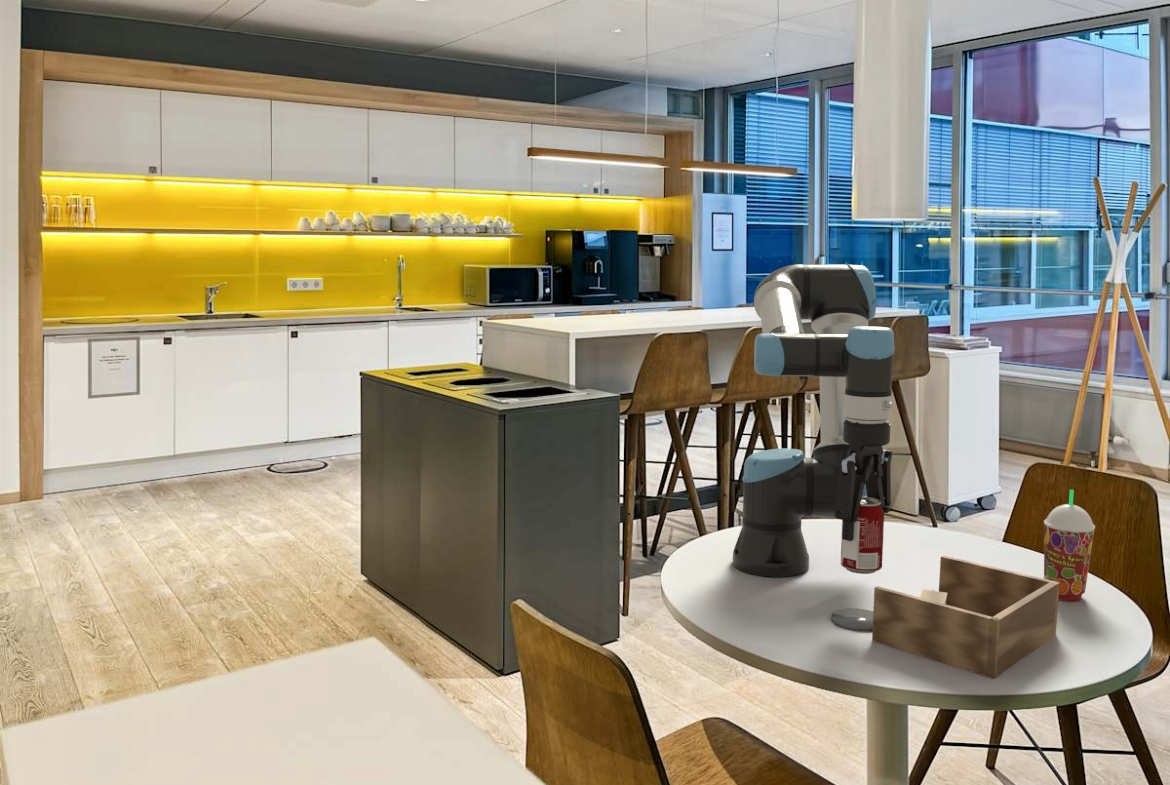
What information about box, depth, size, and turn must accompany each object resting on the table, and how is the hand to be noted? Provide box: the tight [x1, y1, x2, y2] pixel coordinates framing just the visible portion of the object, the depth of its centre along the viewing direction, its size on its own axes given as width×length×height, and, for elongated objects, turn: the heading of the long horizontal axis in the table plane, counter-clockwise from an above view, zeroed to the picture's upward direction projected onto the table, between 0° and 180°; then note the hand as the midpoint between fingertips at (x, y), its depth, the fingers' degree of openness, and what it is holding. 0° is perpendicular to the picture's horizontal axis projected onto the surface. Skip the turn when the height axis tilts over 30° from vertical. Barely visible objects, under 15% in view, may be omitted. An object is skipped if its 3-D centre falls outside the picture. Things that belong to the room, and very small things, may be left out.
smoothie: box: [1043, 489, 1096, 602], centre depth 179 cm, size 8×8×20 cm
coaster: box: [830, 607, 873, 632], centre depth 169 cm, size 9×9×1 cm
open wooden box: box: [871, 555, 1060, 679], centre depth 161 cm, size 20×24×9 cm
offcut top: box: [919, 589, 947, 605], centre depth 165 cm, size 4×6×3 cm, turn 156°
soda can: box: [840, 497, 885, 575], centre depth 166 cm, size 7×7×12 cm
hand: (861, 553), depth 167 cm, fingers closed on soda can, 7 cm apart
